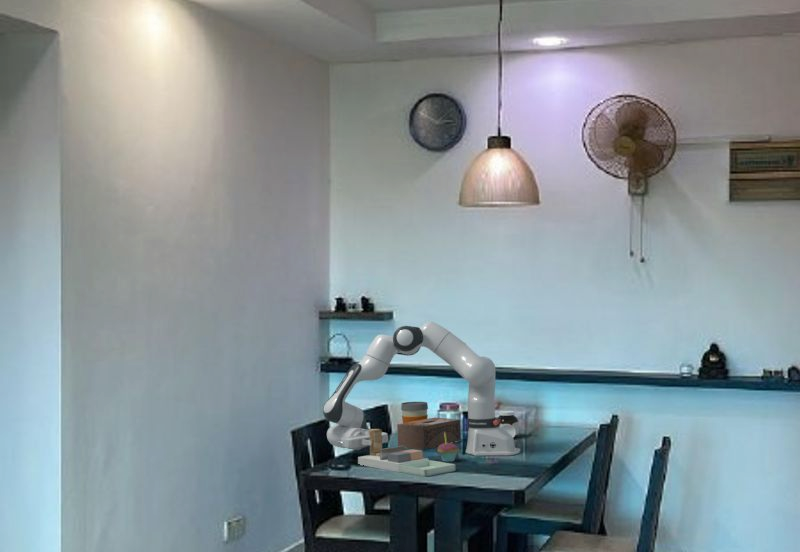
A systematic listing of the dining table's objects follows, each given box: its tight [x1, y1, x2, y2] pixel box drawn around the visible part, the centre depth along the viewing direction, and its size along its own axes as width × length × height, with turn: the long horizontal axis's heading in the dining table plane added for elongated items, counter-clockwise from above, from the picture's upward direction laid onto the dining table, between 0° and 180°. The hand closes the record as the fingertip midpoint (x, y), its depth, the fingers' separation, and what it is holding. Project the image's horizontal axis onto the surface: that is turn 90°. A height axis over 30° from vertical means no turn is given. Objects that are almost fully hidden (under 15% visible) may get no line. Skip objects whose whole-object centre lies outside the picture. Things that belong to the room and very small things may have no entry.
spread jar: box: [496, 410, 520, 439], centre depth 468 cm, size 12×11×12 cm
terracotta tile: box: [401, 448, 424, 461], centre depth 403 cm, size 6×6×3 cm
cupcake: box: [437, 431, 460, 463], centre depth 414 cm, size 9×8×12 cm
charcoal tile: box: [388, 451, 410, 463], centre depth 399 cm, size 6×6×3 cm
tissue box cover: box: [396, 417, 462, 451], centre depth 459 cm, size 26×14×10 cm, turn 139°
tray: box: [398, 459, 457, 478], centre depth 392 cm, size 15×15×2 cm
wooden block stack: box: [369, 428, 406, 460], centre depth 412 cm, size 13×12×10 cm
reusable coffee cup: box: [400, 401, 429, 423], centre depth 487 cm, size 13×13×15 cm
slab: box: [357, 454, 430, 473], centre depth 407 cm, size 25×15×3 cm, turn 40°
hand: (377, 442), depth 415 cm, fingers closed on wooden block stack, 3 cm apart
